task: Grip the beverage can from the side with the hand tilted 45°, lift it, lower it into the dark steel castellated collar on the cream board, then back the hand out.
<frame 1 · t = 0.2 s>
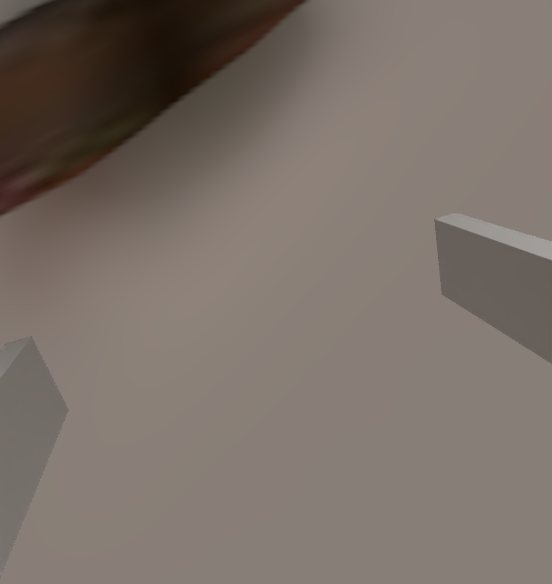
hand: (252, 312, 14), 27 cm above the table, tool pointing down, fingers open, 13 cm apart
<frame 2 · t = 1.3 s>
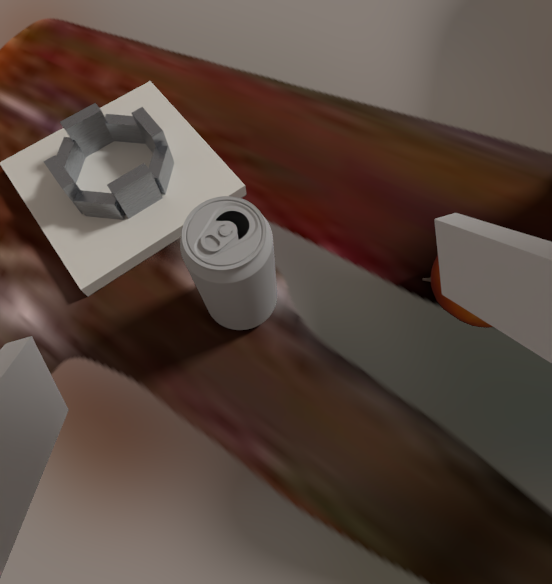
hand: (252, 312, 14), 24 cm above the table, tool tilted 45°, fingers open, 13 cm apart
beverage can: (242, 300, 40), on the table
collar: (111, 160, 43), on the board, point 4 cm above the table
fruit: (464, 296, 40), on the table
board: (124, 183, 46), on the table
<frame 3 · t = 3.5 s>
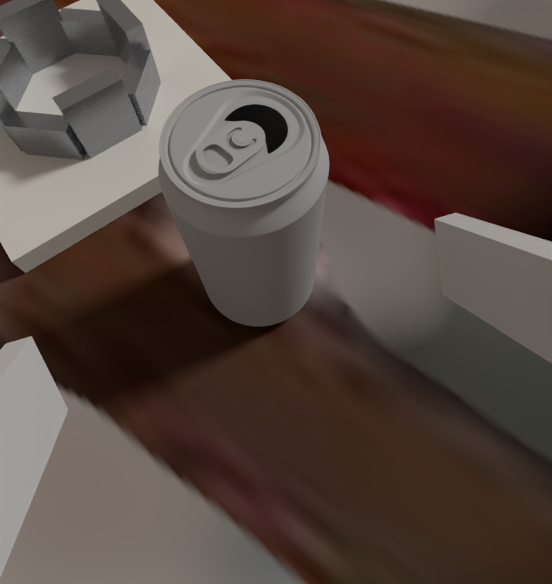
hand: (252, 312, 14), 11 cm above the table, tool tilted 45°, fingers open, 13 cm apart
beverage can: (260, 281, 27), on the table
collar: (66, 71, 29), on the board, point 4 cm above the table
board: (89, 113, 32), on the table
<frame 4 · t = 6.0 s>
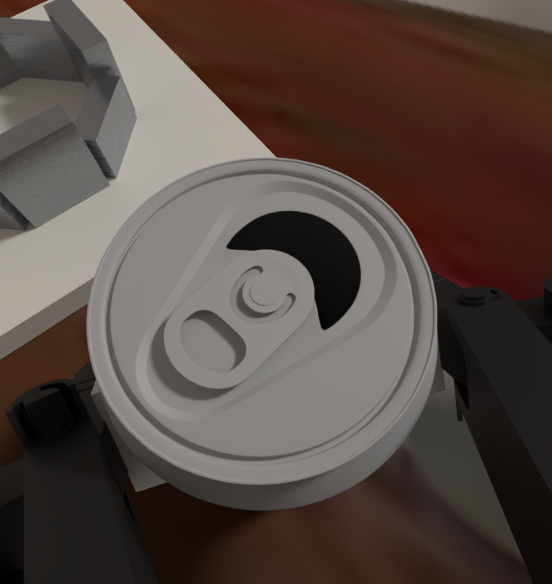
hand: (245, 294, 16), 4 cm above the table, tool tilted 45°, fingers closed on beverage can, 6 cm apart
beverage can: (278, 410, 18), on the table, touching gripper
collar: (3, 106, 20), on the board, point 4 cm above the table
board: (41, 158, 24), on the table
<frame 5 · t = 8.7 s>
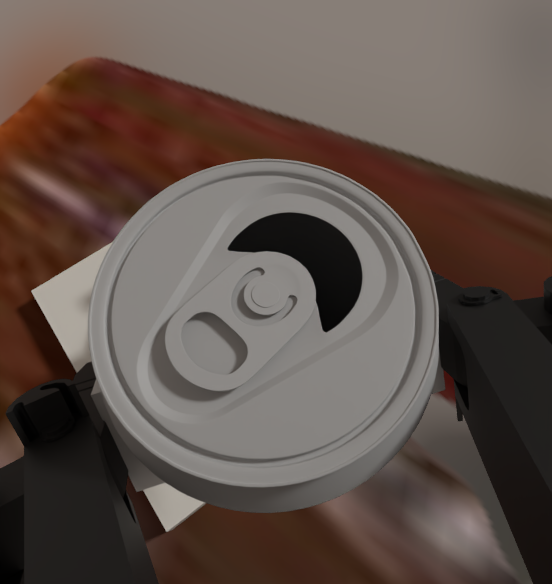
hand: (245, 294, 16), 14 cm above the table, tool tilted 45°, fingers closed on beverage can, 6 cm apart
beverage can: (278, 411, 18), point 10 cm above the table, touching gripper
board: (216, 323, 31), on the table
when the fingers open (7 cm above the table, at t = 11.6 s): beverage can drops 1 cm, resting on board.
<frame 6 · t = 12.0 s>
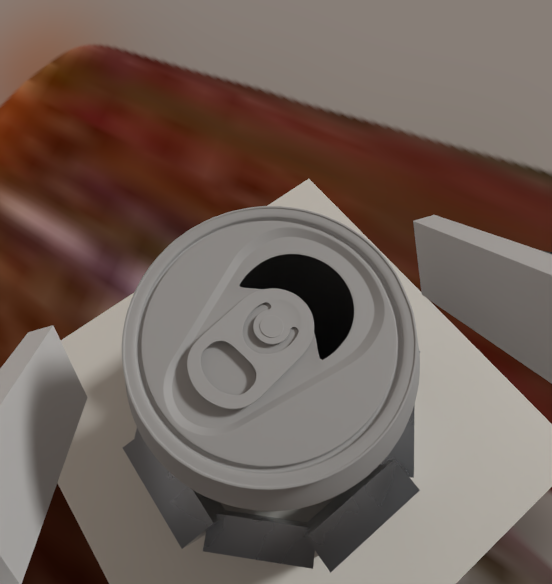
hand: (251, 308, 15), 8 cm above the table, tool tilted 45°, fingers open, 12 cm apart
beverage can: (280, 418, 20), point 1 cm above the table, touching board
collar: (277, 407, 18), on the board, point 4 cm above the table
board: (279, 419, 21), on the table
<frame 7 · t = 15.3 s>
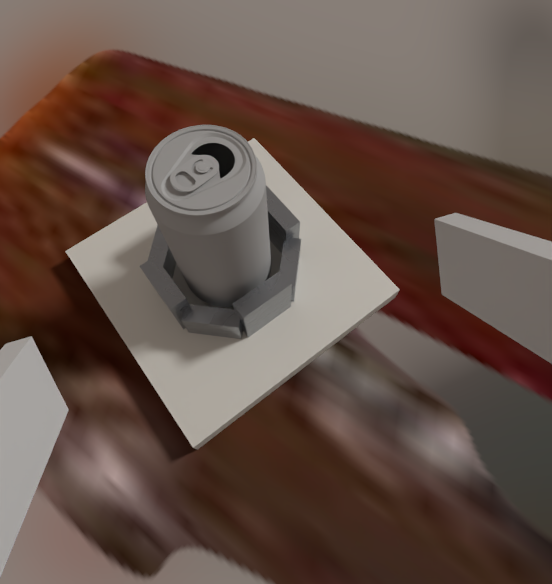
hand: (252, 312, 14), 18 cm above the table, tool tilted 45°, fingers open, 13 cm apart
beverage can: (229, 272, 33), point 1 cm above the table, touching board
collar: (224, 257, 32), on the board, point 4 cm above the table
board: (230, 278, 35), on the table
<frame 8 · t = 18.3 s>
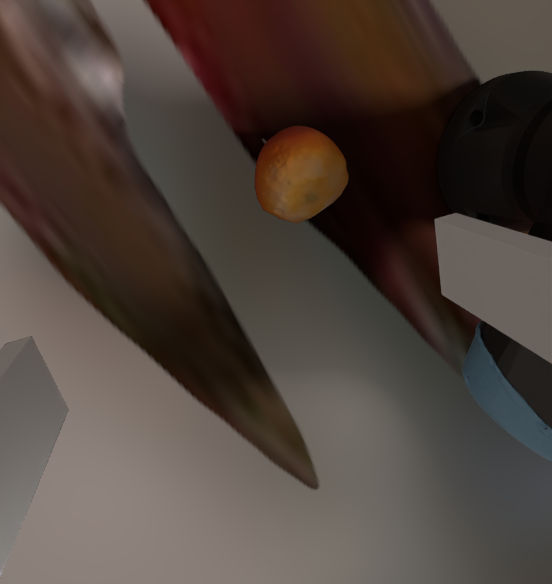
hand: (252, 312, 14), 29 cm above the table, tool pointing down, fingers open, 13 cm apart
fruit: (289, 171, 42), on the table
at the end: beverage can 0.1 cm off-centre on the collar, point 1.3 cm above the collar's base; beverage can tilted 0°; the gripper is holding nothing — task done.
